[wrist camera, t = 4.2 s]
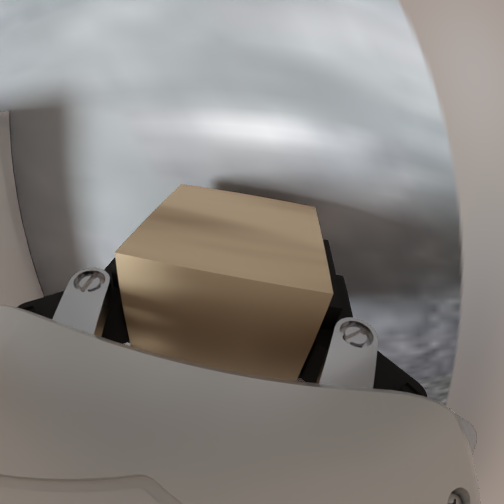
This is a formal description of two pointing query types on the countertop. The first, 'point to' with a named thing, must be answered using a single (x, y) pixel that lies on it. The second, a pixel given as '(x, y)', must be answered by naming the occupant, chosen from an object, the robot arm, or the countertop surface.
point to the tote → (13, 234)
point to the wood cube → (226, 281)
